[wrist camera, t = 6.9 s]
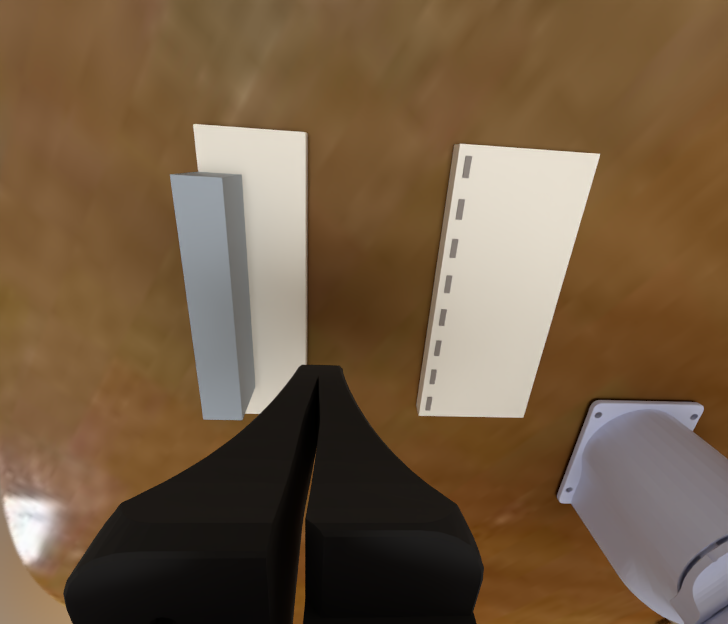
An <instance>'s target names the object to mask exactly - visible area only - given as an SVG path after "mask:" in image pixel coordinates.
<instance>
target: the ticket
mask: <svg viewBox="0 0 728 624" xmlns="http://www.w3.org/2000/svg"><path fill="white" fill-rule="evenodd" d="M599 157H600V154H593V153H580V152H566V151H552V150H539V149H525V148H511V147H498V146H484V145H471V144H454V150H453V157H452V164H451V171H450V177H449V184H448V191H447V198H446V205H445V212H444V218H443V225H442V232H441V239H440V246H439V253H438V260H437V266H436V273H435V280H434V287H433V294H432V301H431V307H430V314H429V321H428V328H427V335H426V342H425V349H424V355H423V362H422V369H421V376H420V383H419V390H418V396H417V403H416V407H417V411H418V414H419V416H462V417H516V418H523V417H524V414H525V410H526V407H527V403H528V400H529V396H530V393H531V390H532V386H533V383H534V379H535V376H536V372H537V369H538V366H539V362H540V359H541V355H542V352H543V348H544V345H545V342H546V338H547V335H548V331H549V328H550V324H551V321H552V318H553V314H554V311H555V307H556V304H557V301H558V297H559V294H560V290H561V287H562V283H563V280H564V277H565V273H566V270H567V266H568V263H569V259H570V256H571V253H572V249H573V246H574V242H575V239H576V235H577V232H578V229H579V225H580V222H581V218H582V215H583V211H584V208H585V205H586V201H587V198H588V194H589V191H590V187H591V184H592V181H593V177H594V174H595V170H596V167H597V163H598V160H599Z"/></svg>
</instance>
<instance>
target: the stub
mask: <svg viewBox="0 0 728 624" xmlns="http://www.w3.org/2000/svg"><path fill="white" fill-rule="evenodd" d="M193 127H194V136H195V146H196V155H197V164H198V172H191V173H180V174H170V178H171V186H172V193H173V200H174V208H175V215H176V222H177V230H178V237H179V244H180V252H181V259H182V266H183V273H184V281H185V288H186V295H187V303H188V310H189V317H190V325H191V332H192V339H193V347H194V354H195V361H196V369H197V376H198V383H199V390H200V398H201V405H202V412H203V419H207V420H243V418H244V415H245V414H260V413H261V412H262V411H263V410H264V409H265V408H266V407H267V406H268V405H269V404H270V403H271V402H272V401H273V400H274V398H275V397H276V396H277V395H278V394H279V392H280V391H281V390H282V389H283V388H284V386H285V385H286V384H287V383H288V381H289V380H290V379H291V377H292V376H293V375H294V373H295V372H296V370H297V369H298V367H299V366H301V365H307V203H308V134H307V133H306V132H295V131H281V130H268V129H254V128H240V127H227V126H213V125H200V124H193Z"/></svg>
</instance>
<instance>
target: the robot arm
mask: <svg viewBox="0 0 728 624" xmlns="http://www.w3.org/2000/svg"><path fill="white" fill-rule="evenodd" d="M703 410H704V407H703V406H702V405H701V404H699V403H697V402H669V401H624V400H596V401H594V402H593V403H592V404H591V406H590V409H589V411H588V414H587V417H586V419H585V422H584V424H583V427H582V430H581V432H580V435H579V438H578V440H577V443H576V446H575V448H574V451H573V454H572V456H571V459H570V462H569V464H568V467H567V470H566V472H565V475H564V478H563V480H562V483H561V486H560V488H559V491H558V494H557V499H558V500H559V502H560V503H571V504H572V506H573V507H574V509H575V510H576V512H577V513H578V515H579V516H580V518H581V519H582V521H583V522H584V524H585V525H586V527H587V529H588V530H589V532H590V533H591V535H592V536H593V538H594V539H595V541H596V542H597V544H598V545H599V547H600V548H601V550H602V551H603V553H604V554H605V556H606V557H607V559H608V561H609V562H610V564H611V565H612V567H613V568H614V570H615V571H616V573H617V574H618V576H619V577H620V579H621V580H622V581H623V582H624V584H625V585H626V586H627V587H628V588H629V589H630V591H631V592H632V593H633V594H634V595H636V596H637V597H638V598H639V599H640V600H641V601H642V602H643V603H644V604H646V605H647V606H648V607H650V608H651V609H652V610H654V611H655V612H656V613H658V614H660V615H661V616H663V617H665V618H667V619H669V620H671V621H673V622H676V623H679V624H728V459H727V458H726V457H725V456H723V455H722V454H721V453H719V452H718V451H717V450H716V449H714V448H713V447H712V446H711V445H709V444H708V443H707V442H705V441H704V440H703V439H702V438H700V437H699V436H698V435H697V434H695V433H694V432H693V430H694V428H695V426H696V424H697V422H698V420H699V418H700V416H701V415H702V413H703ZM597 412H598V413H597ZM596 413H597V414H596ZM316 448H317V450H316ZM315 454H316V458H315ZM314 459H315V465H314V471H313V478H312V485H311V490H310V496H309V502H308V508H307V513H306V518H305V609H304V620H303V624H476V620H475V617H474V613H473V610H474V607H475V604H476V600H477V597H478V594H479V590H480V587H481V584H482V580H483V571H484V567H483V564H482V561H481V556H480V553H479V550H478V547H477V545H476V542H475V540H474V538H473V535H472V533H471V531H470V529H469V527H468V525H467V523H466V521H465V519H464V517H463V515H462V513H461V511H460V509H459V507H458V506H457V504H455V503H454V502H453V501H451V500H450V499H448V498H447V497H445V496H444V495H443V494H441V493H440V492H438V491H437V490H436V489H434V488H433V487H431V486H430V485H428V484H427V483H426V482H425V481H423V480H422V479H421V478H420V477H419V476H417V475H416V474H415V473H414V472H412V471H411V470H410V469H409V468H408V467H407V466H406V465H405V464H404V463H403V462H402V461H401V460H400V459H399V458H398V457H397V456H396V455H395V454H394V453H393V452H392V451H391V450H390V449H389V448H388V447H387V445H386V444H385V443H384V442H383V441H382V440H381V438H380V437H379V436H378V435H377V433H376V432H375V431H374V429H373V428H372V427H371V425H370V424H369V422H368V421H367V419H366V418H365V416H364V415H363V413H362V412H361V410H360V408H359V407H358V405H357V403H356V401H355V399H354V398H353V396H352V394H351V392H350V390H349V387H348V385H347V383H346V380H345V377H344V374H343V369H342V368H341V367H340V366H331V365H301V366H299V367H298V369H297V370H296V372H295V373H294V375H293V376H292V377H291V379H290V380H289V381H288V383H287V384H286V385H285V386H284V388H283V389H282V390H281V391H280V392H279V394H278V395H277V396H276V397H275V398H274V400H273V401H272V402H271V403H270V404H269V405H268V406H267V407H266V408H265V409H264V410H263V411H262V412H261V413H260V414H259V415H258V416H257V417H256V418H255V419H254V420H253V421H252V422H251V423H250V424H249V425H248V426H247V427H245V428H244V429H243V430H242V431H241V432H240V433H238V434H237V435H236V436H235V437H234V438H232V439H231V440H230V441H228V442H227V443H226V444H224V445H223V446H221V447H220V448H219V449H217V450H216V451H214V452H213V453H212V454H210V455H209V456H207V457H206V458H204V459H203V460H201V461H199V462H198V463H196V464H195V465H193V466H191V467H190V468H188V469H186V470H185V471H183V472H181V473H179V474H178V475H176V476H174V477H172V478H171V479H169V480H167V481H165V482H163V483H161V484H159V485H157V486H155V487H153V488H151V489H149V490H147V491H145V492H143V493H141V494H139V495H137V496H135V497H133V498H131V499H129V500H127V501H124V502H122V503H121V504H120V505H119V506H118V508H117V509H116V511H115V512H114V513H113V514H112V515H111V517H110V518H109V519H108V520H107V522H106V523H105V524H104V526H103V527H102V529H101V530H100V531H99V533H98V534H97V536H96V537H95V539H94V540H93V542H92V543H91V545H90V546H89V548H88V549H87V551H86V552H85V554H84V555H83V557H82V558H81V560H80V561H79V563H78V564H77V566H76V567H75V569H74V570H73V572H72V573H71V575H70V577H69V578H68V580H67V582H66V586H65V589H64V593H63V594H64V599H65V604H66V608H67V611H68V613H69V616H70V618H71V621H72V623H73V624H293V615H294V604H295V593H296V583H297V573H298V563H299V553H300V543H301V533H302V524H303V517H304V511H305V505H306V500H307V495H308V490H309V485H310V480H311V474H312V469H313V464H314Z"/></svg>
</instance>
